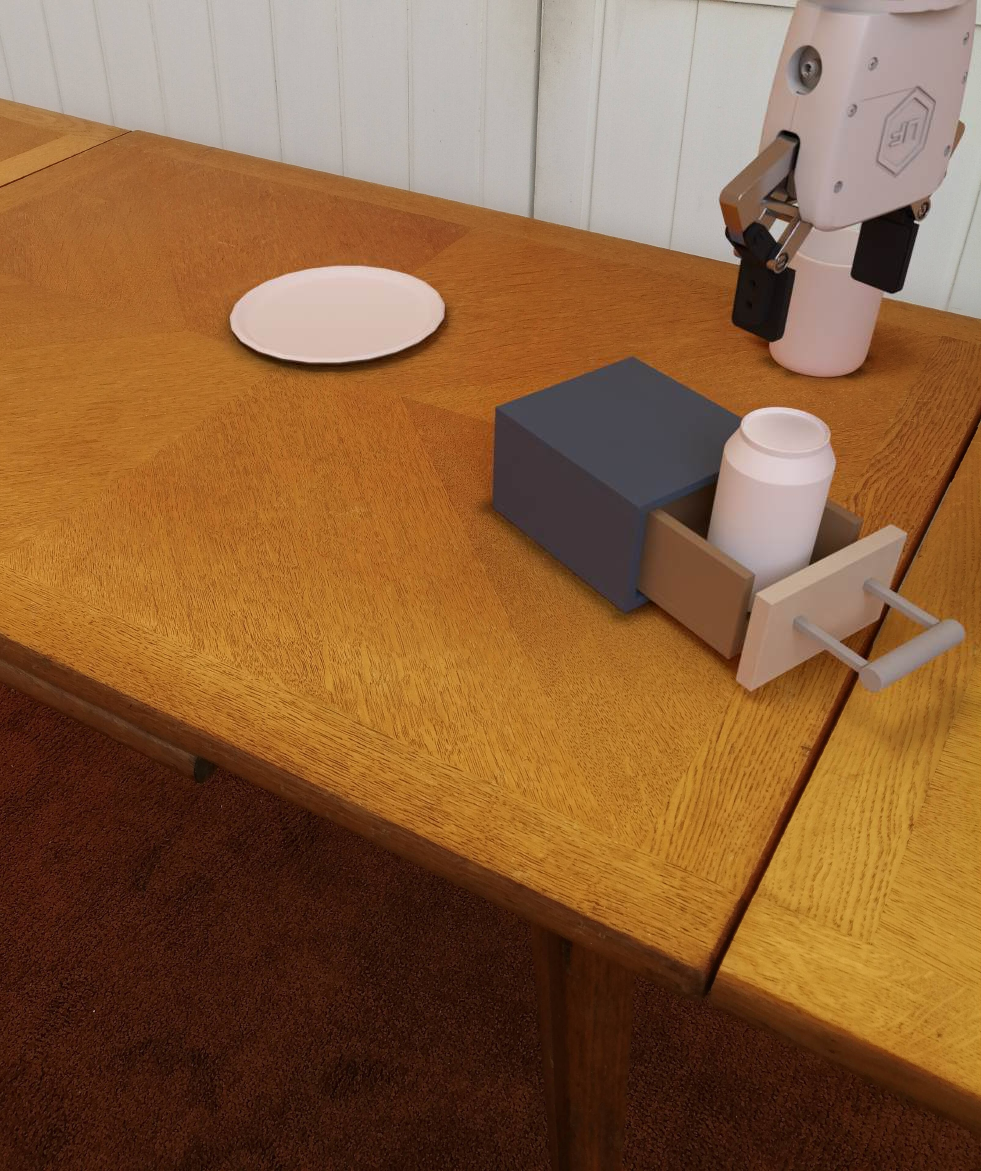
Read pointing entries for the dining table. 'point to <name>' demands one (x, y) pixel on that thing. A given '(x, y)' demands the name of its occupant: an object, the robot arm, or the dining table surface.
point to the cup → (827, 309)
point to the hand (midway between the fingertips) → (817, 308)
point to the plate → (337, 315)
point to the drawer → (785, 595)
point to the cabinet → (604, 466)
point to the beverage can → (772, 493)
